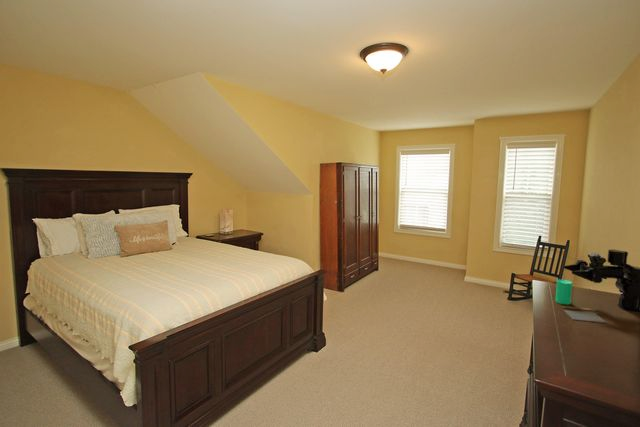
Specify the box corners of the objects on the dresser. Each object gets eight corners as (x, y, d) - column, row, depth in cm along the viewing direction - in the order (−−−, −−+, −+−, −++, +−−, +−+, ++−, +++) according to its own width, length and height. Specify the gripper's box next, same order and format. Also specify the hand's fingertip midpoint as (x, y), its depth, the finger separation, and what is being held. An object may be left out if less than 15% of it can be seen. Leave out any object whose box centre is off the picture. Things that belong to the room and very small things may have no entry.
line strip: (596, 309, 153) (596, 308, 153) (598, 311, 151) (598, 310, 151) (561, 306, 157) (561, 305, 157) (562, 308, 155) (562, 307, 155)
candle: (552, 301, 164) (554, 277, 163) (560, 299, 166) (561, 275, 165) (565, 305, 158) (567, 280, 157) (573, 303, 161) (575, 279, 160)
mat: (594, 313, 149) (594, 312, 149) (606, 323, 139) (606, 322, 139) (563, 310, 152) (563, 309, 152) (572, 319, 143) (572, 319, 143)
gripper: (598, 250, 163) (561, 249, 167) (619, 259, 145) (577, 258, 150) (596, 272, 164) (559, 270, 169) (617, 284, 146) (575, 282, 151)
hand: (567, 269), depth 159 cm, fingers open, 9 cm apart
